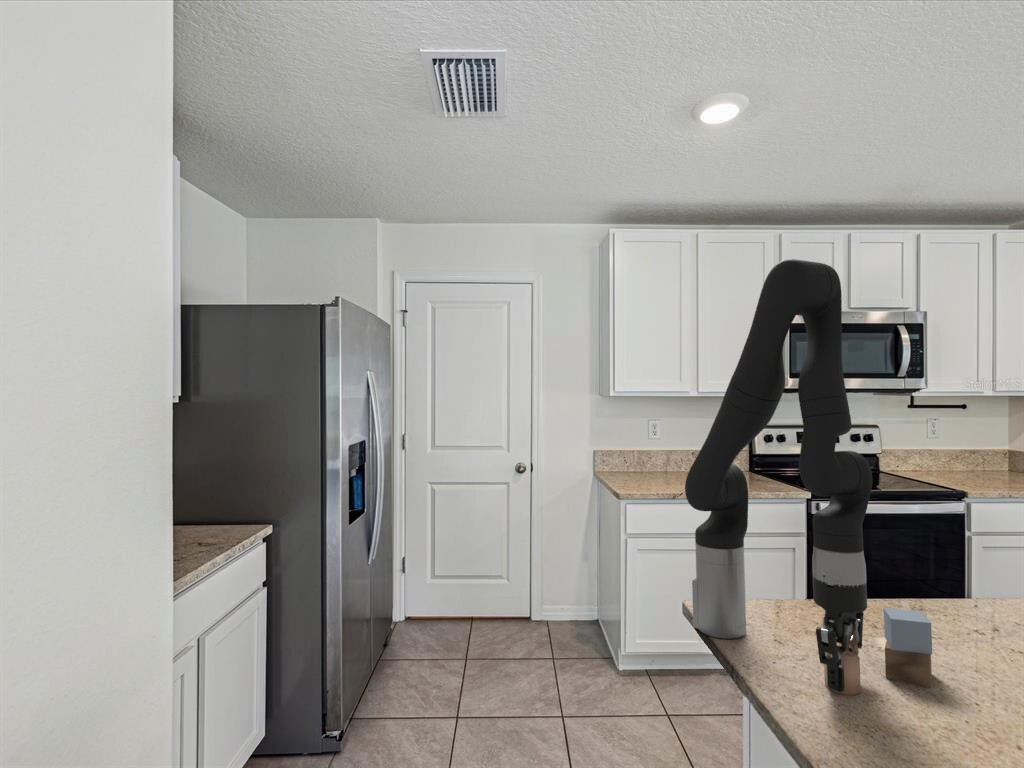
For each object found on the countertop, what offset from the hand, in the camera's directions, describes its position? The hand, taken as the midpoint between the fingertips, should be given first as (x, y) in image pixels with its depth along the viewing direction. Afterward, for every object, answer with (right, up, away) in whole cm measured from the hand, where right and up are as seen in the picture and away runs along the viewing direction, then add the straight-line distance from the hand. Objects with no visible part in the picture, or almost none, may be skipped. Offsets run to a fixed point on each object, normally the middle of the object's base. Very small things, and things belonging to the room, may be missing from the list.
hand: (842, 683), depth 93 cm
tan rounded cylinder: (0, -1, 0) cm, 1 cm away
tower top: (+13, +4, +4) cm, 14 cm away
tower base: (+13, -1, +3) cm, 13 cm away
